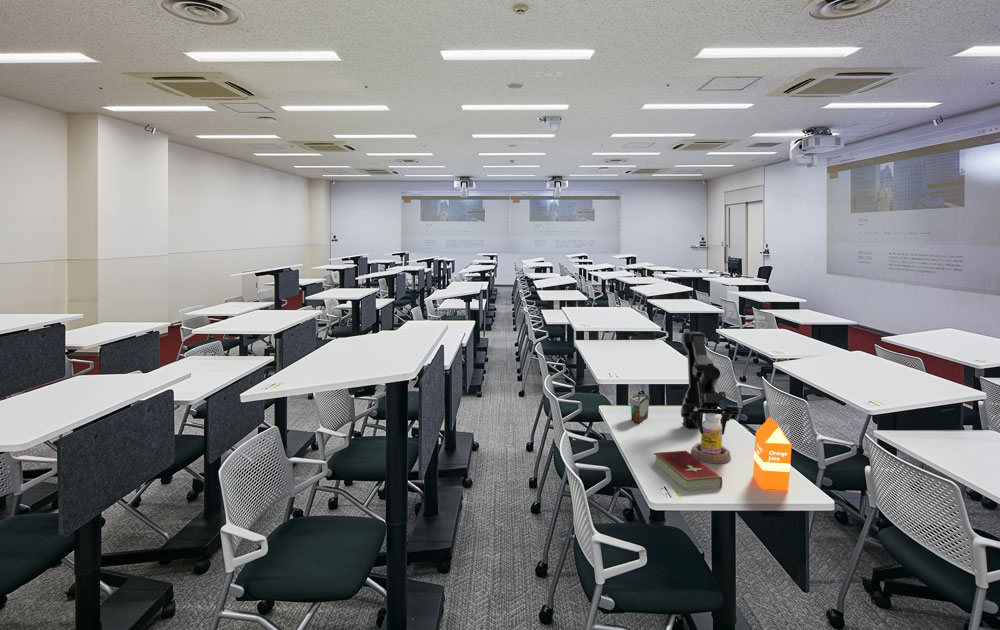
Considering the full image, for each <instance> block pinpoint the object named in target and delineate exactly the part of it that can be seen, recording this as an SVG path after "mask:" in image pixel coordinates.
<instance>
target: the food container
mask: <svg viewBox="0 0 1000 630" xmlns="http://www.w3.org/2000/svg"><path fill="white" fill-rule="evenodd" d="M650 398H651V397H650V394H643V393H640V394H633V395H631V396H630V398H629V404H630V410H631V411H630V413H631V422H632V421H633V422H632V423H634V424H636V423H637V424H636V425H641V424H642V423H643V422H645V421H646V420H647V419H648V417H649V407H650V405H649V404H650ZM644 420H645V421H644ZM640 423H641V424H640Z"/></svg>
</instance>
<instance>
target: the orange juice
mask: <svg viewBox="0 0 1000 630" xmlns="http://www.w3.org/2000/svg"><path fill="white" fill-rule="evenodd" d="M754 441H755V442H754V452H753V470H752V471H753V472H752V477H754V478H753V479H754V481H755V483H757V485H758V484H759V485H758V486H759V488H760V489H761V490H767V489H775V490H774V491H782V490H786V491H785V492H789V488H790V485H789V483H790V472H791V457H792V445H793V444H792V443H791V442H790V440H789V439H788V438H787V436H786V434H785V433H784V432H783V430H782V429H781V427H780V425H779V423H777V422H776V421H775V420H774V419H773V418H772V417H771V416H769V417H768V418H767V419H766V421H765V422H763V424H762V425H761V426H760V428H758V430H757V431H756V432H755V439H754Z"/></svg>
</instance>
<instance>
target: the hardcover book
mask: <svg viewBox="0 0 1000 630" xmlns="http://www.w3.org/2000/svg"><path fill="white" fill-rule="evenodd" d="M654 455H655V465H657V466H658V467H659V466H660V467H661V468H660V467H659V468H660V469H662V470H663V471H664V472H665V471H666V472H667V473H668V474H669V475H668V474H667V473H666V472H665V473H666V474H667V475H668V476H670V477H671V478H672V479H673V480H674V481H675V482H676V481H677V482H678V484H679V485H680V486H681V487H682V488H683V487H684V488H685V489H686V491H692V490H691V489H695V490H704V489H715V488H716V487H717V488H720V489H722V488H723V477H722V476H721V475H720V474H718V473H717V472H715V471H714V470H713V469H712V468H710V467H709V466H707V465H706V463H705V464H704V462H701V461H699V460H698V459H697V458H695V457H694V456H693V455H691V452H688V451H687V450H675V451H663V452H662V451H661V452H654ZM677 482H676V483H677ZM684 488H683V489H684ZM717 488H716V489H717ZM685 489H684V490H685Z"/></svg>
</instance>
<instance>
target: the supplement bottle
mask: <svg viewBox="0 0 1000 630" xmlns="http://www.w3.org/2000/svg"><path fill="white" fill-rule="evenodd" d="M704 419H705V420H703V422H702V428H703V434H701V433H700V443H701V450H702V451H703V452H705V453H709V454H718V453H720V452H721V448H722V446H723V445H722V444H723V442H722V441H723V435H722V424H721V423H720V419H721V417H720V414H713V413H708V414H705V415H704Z"/></svg>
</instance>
